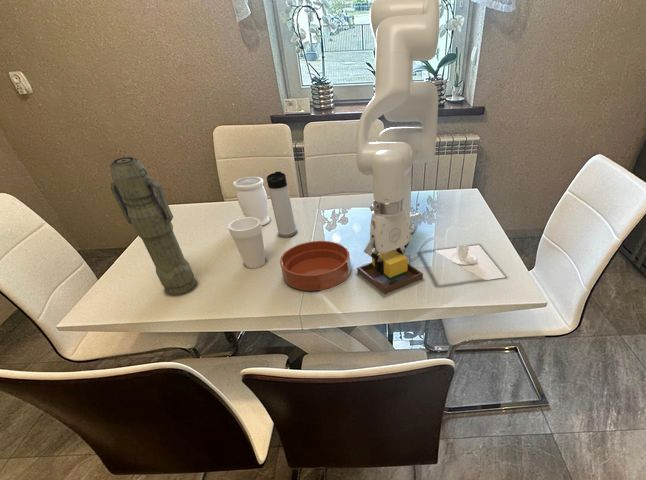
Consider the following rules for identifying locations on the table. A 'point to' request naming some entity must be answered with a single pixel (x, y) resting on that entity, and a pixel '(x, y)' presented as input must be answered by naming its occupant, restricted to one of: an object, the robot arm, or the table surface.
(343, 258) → the terracotta plant saucer
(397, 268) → the sponge
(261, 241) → the foam cup
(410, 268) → the tray
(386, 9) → the robot arm
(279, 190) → the travel mug
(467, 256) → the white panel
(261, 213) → the jar
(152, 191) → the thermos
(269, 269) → the table surface
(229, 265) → the table surface
